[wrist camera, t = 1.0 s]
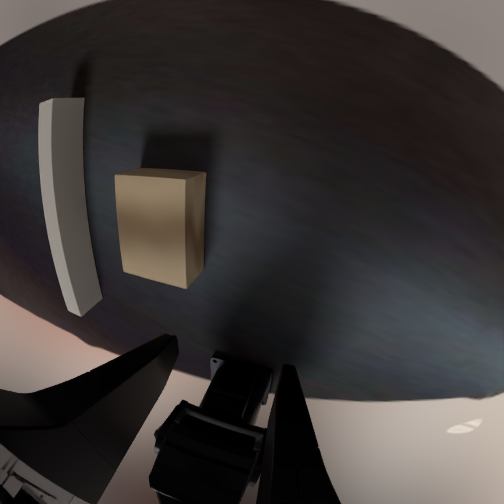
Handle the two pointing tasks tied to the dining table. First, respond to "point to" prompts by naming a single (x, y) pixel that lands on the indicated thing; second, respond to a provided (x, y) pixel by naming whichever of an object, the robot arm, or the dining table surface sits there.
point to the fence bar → (67, 201)
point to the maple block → (161, 223)
